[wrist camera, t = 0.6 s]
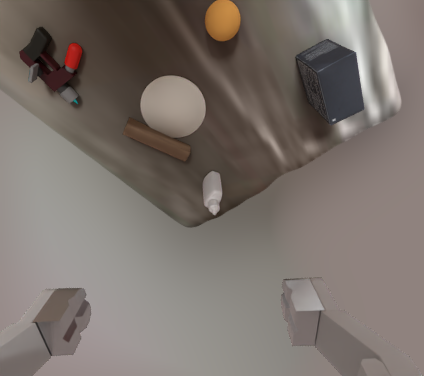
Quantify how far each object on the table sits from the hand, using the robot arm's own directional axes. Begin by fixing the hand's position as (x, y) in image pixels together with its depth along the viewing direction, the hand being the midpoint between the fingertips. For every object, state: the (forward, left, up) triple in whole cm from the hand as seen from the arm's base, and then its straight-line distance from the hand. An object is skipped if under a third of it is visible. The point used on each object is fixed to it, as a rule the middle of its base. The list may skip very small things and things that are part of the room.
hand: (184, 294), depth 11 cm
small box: (-8, +24, -46) cm, 53 cm away
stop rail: (+19, +3, -46) cm, 50 cm away
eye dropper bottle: (+24, +19, -46) cm, 55 cm away
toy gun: (+14, -17, -47) cm, 51 cm away
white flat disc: (+12, +3, -46) cm, 48 cm away
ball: (-6, +3, -43) cm, 44 cm away
